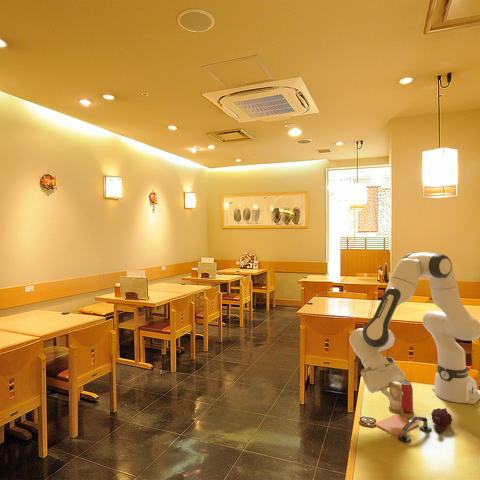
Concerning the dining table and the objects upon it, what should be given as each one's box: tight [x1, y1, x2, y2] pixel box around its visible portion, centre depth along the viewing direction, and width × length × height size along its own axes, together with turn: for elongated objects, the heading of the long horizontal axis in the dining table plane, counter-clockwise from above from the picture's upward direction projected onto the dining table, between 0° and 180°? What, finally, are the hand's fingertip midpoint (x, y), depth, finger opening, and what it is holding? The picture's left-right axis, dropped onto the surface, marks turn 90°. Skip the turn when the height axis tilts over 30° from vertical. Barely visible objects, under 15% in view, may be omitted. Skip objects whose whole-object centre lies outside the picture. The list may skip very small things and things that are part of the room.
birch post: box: [388, 381, 404, 415], centre depth 136 cm, size 5×5×11 cm
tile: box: [374, 414, 420, 437], centre depth 136 cm, size 14×10×1 cm
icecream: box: [431, 407, 453, 434], centre depth 135 cm, size 7×7×15 cm
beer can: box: [401, 380, 414, 414], centre depth 148 cm, size 7×7×12 cm
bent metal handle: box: [397, 415, 432, 444], centre depth 129 cm, size 16×3×7 cm, turn 120°
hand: (396, 397), depth 135 cm, fingers closed on birch post, 4 cm apart
